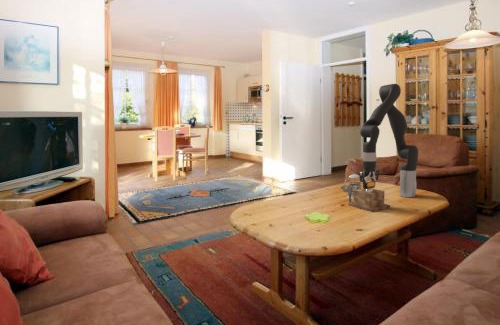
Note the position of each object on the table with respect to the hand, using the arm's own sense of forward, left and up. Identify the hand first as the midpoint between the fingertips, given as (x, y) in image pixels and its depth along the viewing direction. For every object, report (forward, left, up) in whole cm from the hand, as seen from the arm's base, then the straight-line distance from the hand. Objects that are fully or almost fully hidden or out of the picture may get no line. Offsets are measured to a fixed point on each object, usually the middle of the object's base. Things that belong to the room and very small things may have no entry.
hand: (369, 188), depth 203 cm
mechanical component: (+1, -15, -11) cm, 19 cm away
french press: (-9, -22, -11) cm, 26 cm away
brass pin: (0, 0, -6) cm, 6 cm away
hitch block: (0, 0, -11) cm, 11 cm away
